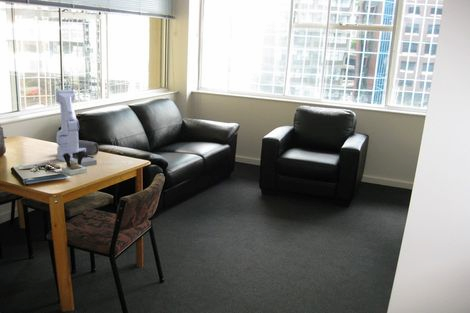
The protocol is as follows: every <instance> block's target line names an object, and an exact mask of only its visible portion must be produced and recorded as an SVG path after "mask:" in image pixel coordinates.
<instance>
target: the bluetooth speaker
mask: <svg viewBox="0 0 470 313" xmlns="http://www.w3.org/2000/svg"><path fill="white" fill-rule="evenodd" d="M78 143H79V148H86V152H84V153H85V155H84V156H83V158H87V157H91V156H97V155H98V153H99V149H100V147H99V144H98V142H94V141H88V140H82V139H78ZM72 154H73V156H75V157H77V153H72Z"/></svg>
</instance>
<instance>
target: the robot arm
mask: <svg viewBox="0 0 470 313" xmlns="http://www.w3.org/2000/svg"><path fill="white" fill-rule="evenodd" d="M75 96H76V93H75V90H74V89H56V90H55V101H56V103H58V104H59V106H60V126H61V129H60V130H58V131H56V137H55V138H56V144H57V148H56V151H57V157H56V160H59V161H61V162H65V163H66V166H67V167H70V162H71V160H73V159H78V165H81V161H82V158H84V157H83V156H84V155H85V153H84V152H86V148H79V143H78V140H79V130H80V124H79V123H80V122H79V120H78V118H77V115H76V111H75V110H73V102H74V100H75V98H76V97H75ZM72 153H77V156H76V157H77V158H75V157H73V156H74V155H73V154H72Z"/></svg>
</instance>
